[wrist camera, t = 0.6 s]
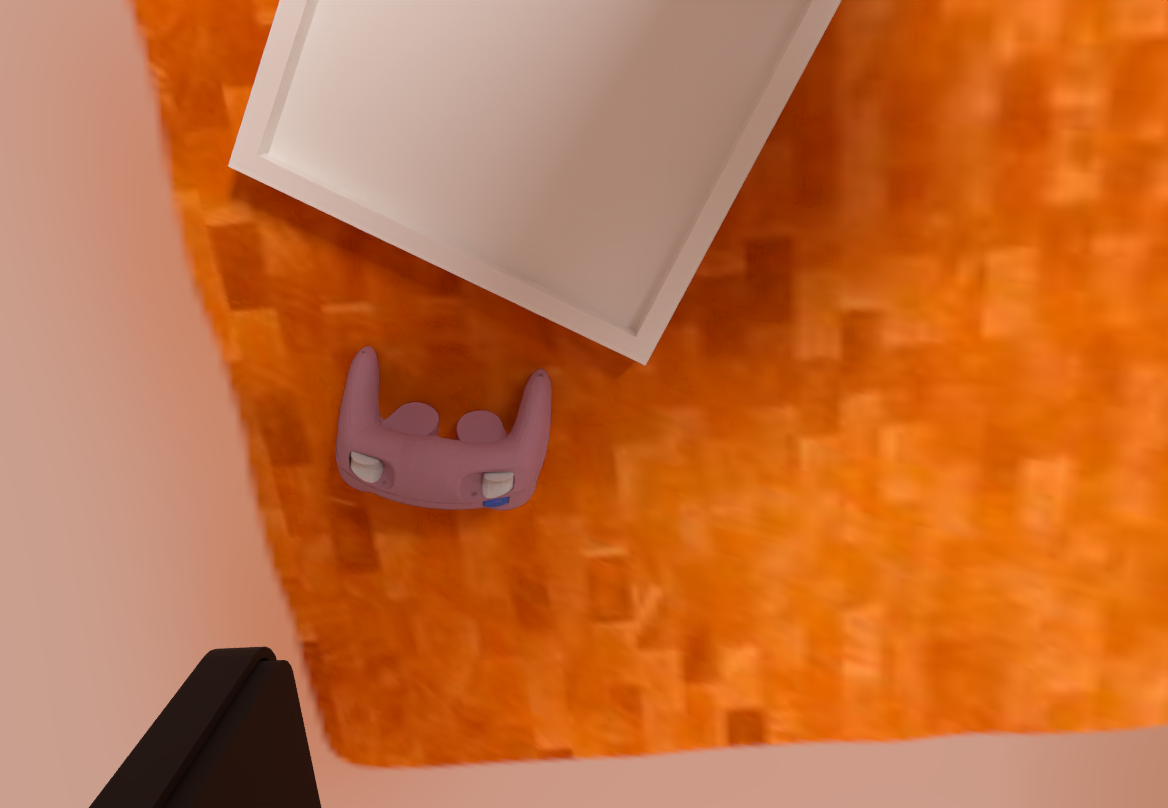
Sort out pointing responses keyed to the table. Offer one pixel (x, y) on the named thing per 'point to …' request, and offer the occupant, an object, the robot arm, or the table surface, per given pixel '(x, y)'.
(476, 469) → the video game controller
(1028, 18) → the table surface
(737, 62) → the tray
